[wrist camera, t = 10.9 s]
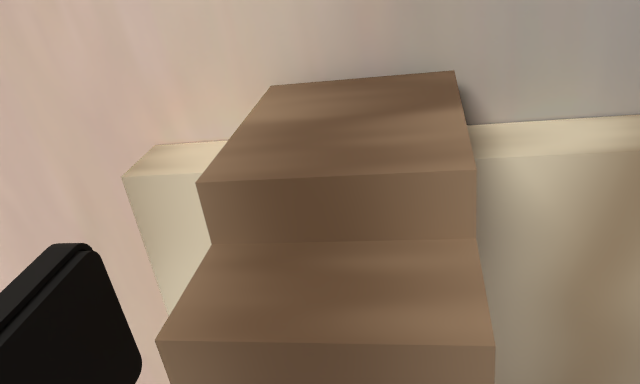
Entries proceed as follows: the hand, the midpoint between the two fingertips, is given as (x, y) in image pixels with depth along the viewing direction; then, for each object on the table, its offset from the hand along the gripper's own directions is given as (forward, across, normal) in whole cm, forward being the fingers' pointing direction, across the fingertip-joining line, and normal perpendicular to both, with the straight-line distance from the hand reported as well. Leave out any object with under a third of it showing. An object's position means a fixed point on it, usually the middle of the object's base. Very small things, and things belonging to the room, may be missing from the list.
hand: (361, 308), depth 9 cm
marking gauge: (+5, 0, +4) cm, 7 cm away
